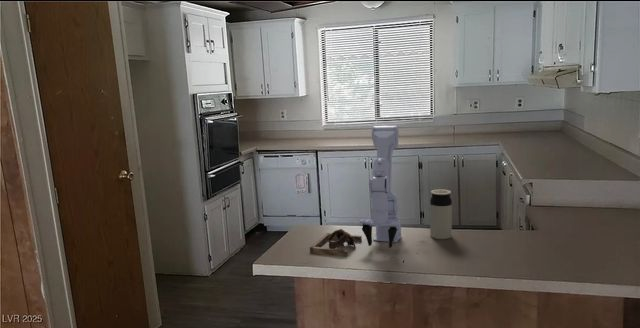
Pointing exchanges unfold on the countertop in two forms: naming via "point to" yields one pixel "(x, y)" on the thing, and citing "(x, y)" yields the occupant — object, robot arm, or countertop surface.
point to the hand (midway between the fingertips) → (380, 246)
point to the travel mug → (440, 214)
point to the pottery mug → (341, 239)
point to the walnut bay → (329, 251)
